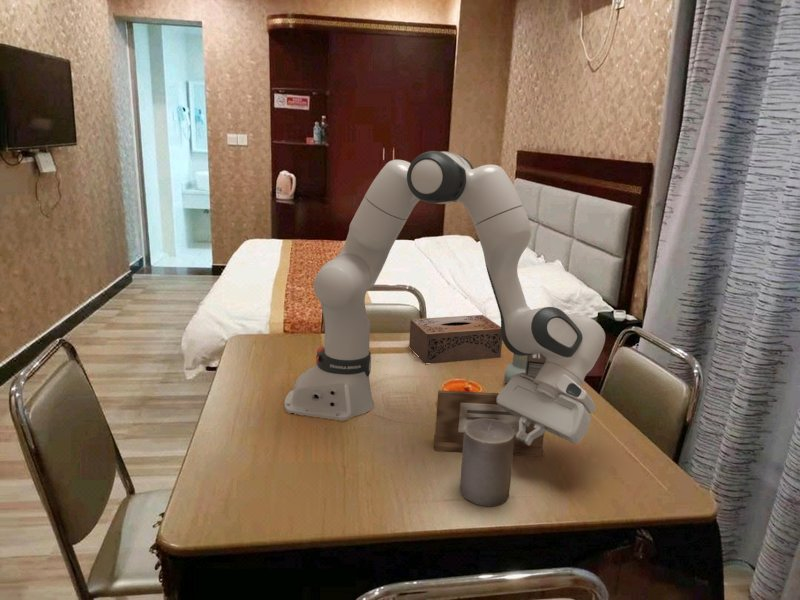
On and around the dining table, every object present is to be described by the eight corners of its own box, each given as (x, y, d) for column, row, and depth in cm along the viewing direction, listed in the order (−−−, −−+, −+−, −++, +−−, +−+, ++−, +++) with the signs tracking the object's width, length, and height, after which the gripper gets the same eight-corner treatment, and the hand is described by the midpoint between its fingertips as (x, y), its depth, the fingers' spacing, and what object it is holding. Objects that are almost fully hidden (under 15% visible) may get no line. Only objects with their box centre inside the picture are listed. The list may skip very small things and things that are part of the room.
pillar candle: (503, 478, 119) (509, 412, 115) (513, 507, 110) (520, 436, 106) (456, 477, 119) (461, 411, 115) (462, 507, 110) (467, 435, 106)
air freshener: (511, 374, 172) (514, 343, 169) (539, 380, 168) (543, 348, 166) (501, 388, 162) (504, 354, 159) (530, 394, 159) (534, 360, 156)
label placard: (434, 450, 128) (438, 396, 125) (434, 439, 133) (437, 386, 130) (543, 456, 128) (550, 401, 125) (538, 444, 133) (545, 391, 129)
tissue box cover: (480, 342, 198) (482, 314, 195) (500, 358, 185) (503, 328, 182) (409, 348, 190) (410, 319, 187) (425, 365, 176) (426, 334, 174)
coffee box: (520, 404, 153) (527, 347, 148) (545, 407, 152) (553, 350, 147) (520, 420, 144) (527, 360, 140) (547, 423, 143) (555, 363, 139)
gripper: (511, 363, 128) (477, 415, 124) (593, 396, 113) (558, 456, 109) (522, 377, 132) (490, 428, 128) (603, 410, 117) (569, 469, 113)
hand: (522, 441), depth 119 cm, fingers closed
